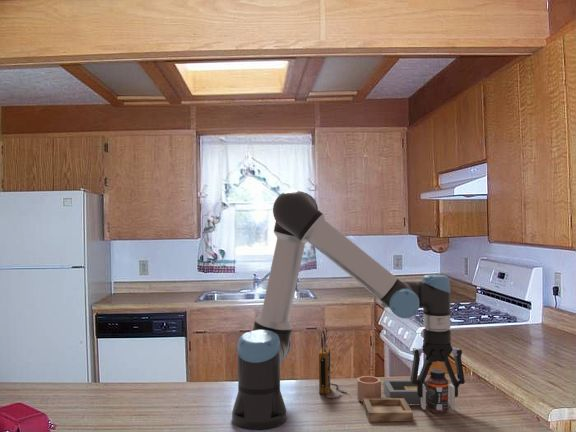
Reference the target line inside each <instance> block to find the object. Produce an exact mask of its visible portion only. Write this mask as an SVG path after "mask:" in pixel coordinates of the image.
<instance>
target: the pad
mask: <svg viewBox="0 0 576 432" xmlns="http://www.w3.org/2000/svg"><path fill="white" fill-rule="evenodd" d="M404 390H417V386H404Z"/></svg>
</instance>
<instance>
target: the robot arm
mask: <svg viewBox="0 0 576 432" xmlns="http://www.w3.org/2000/svg"><path fill="white" fill-rule="evenodd" d="M272 206H273V207H272V214H273V218H274V220H275V222H274V223H275V224H274V227H273V233H274V235H275V236H276V244H275V248H274V251H273V252H274V253H273V256H272V257H273V258H272V263H271V267H270V271H269V277H268V282H267V286H266V291H265V294H264V299H263V305H262V309H261V314H260V315H258V316H257V317H255V319H254V323H253V328H252V330H250V331H246V332H244V333H243V334H242V335H241V336H239V338H238V342H237V347H236V349H237V350H236V351H237V382H238V383H237V385H238V386H237V387H238V389H237V390H238V391H237V394H236V398H235V402H234V404H233V407H232V411H231V412H232V413H231V420H232V423H233V424H234V425H235V426H237V427H239V428H242V429H247V430H269V429H273V428H276V427H278V426H281V425H283V424H284V423H286V421H287V417H288V416H287V414H288V412H287V407H286V404H285V402H284V398H283V395H282V392H281V365H282V363H283V362H284V360H285V359H286V358H287V356H288V355H289V352H290V351H291V336H292V331H293V325H292V323H291V322H290V316H291V311H292V309H293V308H292V307H293V303H294V297H295V292H296V288H297V284H298V280H299V274H300V269H301V265H302V264H301V263H302V259H303V255H304V250H305V245H306V244H307V243H308V244H310V245H311V246H313V247H314V248H315V249H316V250H318V251H319V252H320V253H321V254H322V255H324V256H325V257H326V258H328V259H329V260H330V261H331V262H332V263H333V264H335V265H336V266H338V268H340V270H343V271H344V272H345V273H346V274H347V275H349V276H350V277H351V278H352V279H353V280H355V281H356V282H357V283H358V284H359V285H361V286H362V287H363V288H365V289H366V290H367V291H368V292H370V293H371V294H372V295H374V297H376V298H377V300H378V299H379V301H380V302H381V305H382V306H383V307H384V308H389V309H390V310H391V312H392V313H393V314H394V315H395V316H396V317H398V318H400V319H410V318H413V317H414V316H415V315H416V314H417V313H418V311H419V309H423V312H422V314H423V317H422V318H423V321H422V322H423V327H424V329H423V344H422V346H421V347H420V348H416V347H413V348H412V355H413V360H412V367H411V375H410V380H411V382H412V383H413V384H416V385H417V394H418V396H419V397H421V405H420V407H421V409H422V410H424V411H426V410H427V405H426V387H425V386H424V381H425V380H427V376H428V373H429V372H430V368H431V366H432V365H433V363H436V362H441V363H443V365H444V366H445V370H446V372H447V375H448V377H449V379H450V381H451V383H448V407H449V408H450V409H451V411H452V410H453V411H454V410H456V405H455V403H456V398H457V397H458V396H459V387H460V385H464V384H465V383H466V382H465V381H466V380H465V376H464V370H463V363H462V353H463V351H462V349H460V348H459V347H456V348H455V347H452V345H451V343H452V342H451V339H452V338H451V336H452V334H451V330H450V329H451V292H452V291H451V284H450V283H451V282H450V278H449V277H448V276H447V275H445V274H439V273H438V274H436V273H435V274H425V275H424V276H423V277H422V281H401V280H400V279H399V278H397V276H396V275H394V274H393V273H391V272H390V271H389V270H388V269H386V268H385V267H384V266H383V265H381V264H380V263H379V262H377V261H376V259H374V258H372V256H371V255H369V254H368V253H366V252H365V251H364V250H363V249H361V247H359V246H358V245H357V244H356V243H354V242H353V241H352V240H350V239H349V238H348V237H347V236H345V235H344V234H343V233H342V232H341V231H339V230H338V229H337V228H335V227H334V226H333V225H332V224H330V223H329V222H328V221H327V220H325V214H324V213H322V212H321V211H320V210H319V207H318V203H317V201H316V200H315V199H314V198H313V196H312V195H310V194H309V193H307V192H304V191H301V190H296V189H289V190H286V191H283V192H282V193H280V194H279V195H278V196H277V198H276V199H275V200H274V203H273V205H272ZM423 353H424V354H425V356H426V357H425V358H424V363H423V365H422V367H421V370H420V372H419V368H420V360H421V358H420V357H422V355H423ZM451 353H452V355H453V357H454V365H455V370H456V371H455V372H456V375H455V373H454V370H453V367H452V365H451V362H450V359H449V356H450V355H451ZM418 374H419V375H418ZM456 376H457V377H456Z"/></svg>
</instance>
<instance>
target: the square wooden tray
mask: <svg viewBox="0 0 576 432" xmlns="http://www.w3.org/2000/svg"><path fill="white" fill-rule="evenodd" d="M362 406H364V407H363V410H364V409H365V410H364V413H365V412H366V413H365V416H366V417H367V421H368V422H369V423H373V422H374V423H383V422H382V421H413V422H414V413H413V412H414V411H412V409H411V407H410V405H408V404H407V402H406V400H405V399H404V398H386V397H381V398H363V402H362ZM380 421H381V422H380Z"/></svg>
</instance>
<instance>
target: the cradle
mask: <svg viewBox="0 0 576 432" xmlns="http://www.w3.org/2000/svg"><path fill="white" fill-rule="evenodd" d="M382 384H383V394H384V396H385V398H404V399H405V400H406V402H407V404H421V397H419V396H418V394H417V390H404V386H417V385H416V384H413V383H412V382H411V379H383V383H382ZM424 386H425V387H426V404H427V379H425V381H424Z"/></svg>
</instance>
